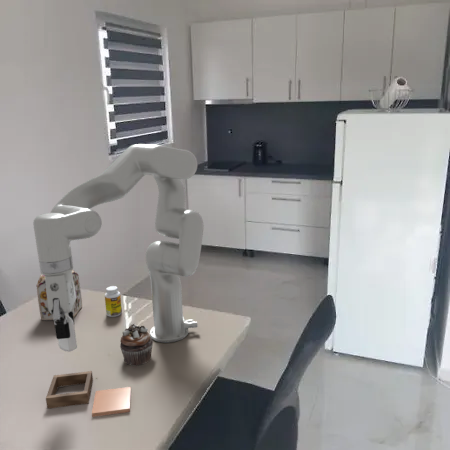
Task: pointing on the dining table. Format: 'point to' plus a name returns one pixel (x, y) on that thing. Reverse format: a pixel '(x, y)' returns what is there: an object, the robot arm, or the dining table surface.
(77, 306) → the decorative jar
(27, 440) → the dining table surface
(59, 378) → the walnut holder
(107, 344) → the dining table surface
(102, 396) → the terracotta tile
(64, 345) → the eye dropper bottle
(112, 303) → the supplement bottle
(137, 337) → the cupcake
